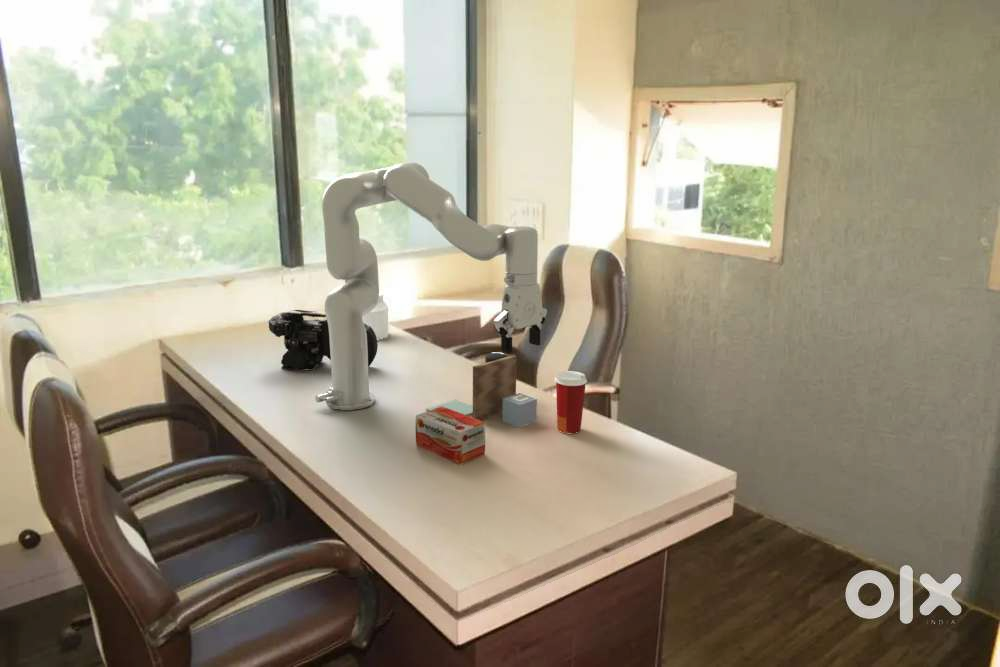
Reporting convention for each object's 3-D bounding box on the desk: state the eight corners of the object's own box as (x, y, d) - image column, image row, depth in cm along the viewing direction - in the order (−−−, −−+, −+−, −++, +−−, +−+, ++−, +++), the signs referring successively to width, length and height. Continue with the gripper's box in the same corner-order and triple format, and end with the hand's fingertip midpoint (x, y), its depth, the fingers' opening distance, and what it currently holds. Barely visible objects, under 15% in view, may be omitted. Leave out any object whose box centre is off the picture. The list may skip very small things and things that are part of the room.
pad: (451, 421, 191) (451, 419, 191) (426, 410, 198) (426, 408, 198) (480, 411, 198) (480, 409, 198) (455, 401, 205) (455, 399, 205)
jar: (351, 334, 267) (350, 292, 263) (376, 330, 273) (374, 289, 268) (367, 342, 258) (366, 298, 254) (392, 337, 264) (391, 295, 260)
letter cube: (519, 427, 188) (519, 404, 186) (502, 421, 192) (502, 397, 191) (536, 421, 192) (536, 398, 190) (519, 415, 196) (519, 392, 195)
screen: (479, 422, 191) (479, 368, 187) (468, 417, 194) (469, 364, 190) (519, 408, 200) (520, 357, 197) (508, 404, 203) (509, 354, 199)
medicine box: (415, 446, 177) (414, 414, 175) (440, 436, 183) (440, 405, 180) (460, 466, 167) (460, 432, 165) (486, 455, 173) (487, 422, 171)
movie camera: (261, 373, 223) (261, 314, 219) (284, 358, 240) (284, 303, 236) (366, 382, 220) (367, 323, 216) (382, 366, 237) (383, 311, 234)
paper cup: (587, 426, 189) (590, 372, 186) (580, 437, 182) (583, 382, 179) (557, 421, 192) (559, 368, 188) (548, 433, 185) (550, 378, 181)
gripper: (506, 286, 174) (506, 358, 179) (557, 276, 186) (556, 344, 190) (484, 281, 180) (484, 352, 184) (535, 272, 191) (534, 338, 196)
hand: (520, 348), depth 187 cm, fingers open, 9 cm apart
